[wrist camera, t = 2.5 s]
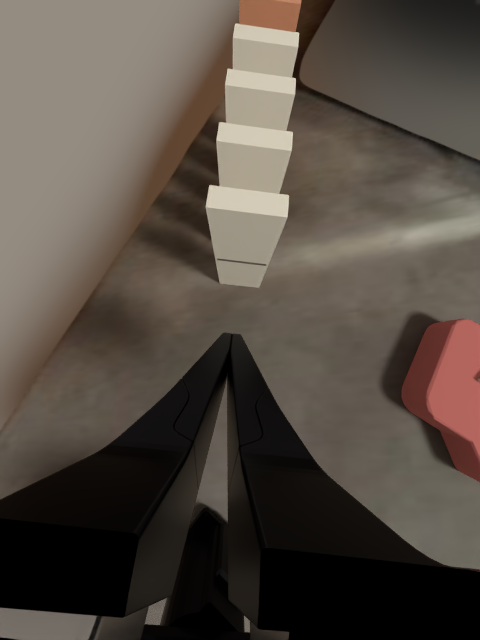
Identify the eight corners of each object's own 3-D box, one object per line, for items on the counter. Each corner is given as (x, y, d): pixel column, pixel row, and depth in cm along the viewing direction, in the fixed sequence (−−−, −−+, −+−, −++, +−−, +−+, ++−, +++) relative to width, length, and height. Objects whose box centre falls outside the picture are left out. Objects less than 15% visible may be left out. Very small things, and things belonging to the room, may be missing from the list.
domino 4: (267, 189, 25) (298, 47, 14) (232, 184, 25) (232, 38, 14) (268, 179, 26) (299, 32, 14) (234, 174, 26) (235, 23, 14)
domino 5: (270, 160, 26) (300, 4, 15) (236, 155, 26) (239, -5, 14) (271, 151, 27) (301, -9, 15) (237, 146, 27) (242, -18, 15)
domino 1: (258, 288, 23) (287, 218, 11) (219, 283, 23) (205, 207, 11) (260, 275, 23) (289, 194, 11) (221, 271, 23) (209, 184, 11)
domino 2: (262, 252, 24) (291, 151, 12) (224, 247, 24) (216, 141, 12) (263, 240, 24) (292, 131, 12) (225, 236, 24) (219, 121, 12)
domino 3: (264, 219, 25) (294, 95, 13) (228, 214, 24) (225, 85, 13) (265, 208, 25) (296, 77, 13) (230, 203, 25) (227, 68, 13)
